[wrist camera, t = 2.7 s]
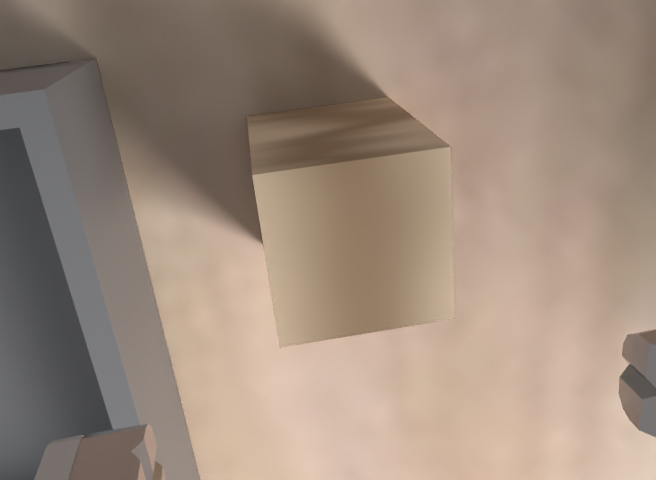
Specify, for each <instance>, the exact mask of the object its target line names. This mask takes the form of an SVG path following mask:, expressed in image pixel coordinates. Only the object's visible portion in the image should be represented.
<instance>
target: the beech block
mask: <svg viewBox="0 0 656 480" xmlns="http://www.w3.org/2000/svg"><path fill="white" fill-rule="evenodd" d="M247 124H248V135H249V146H250V158H251V169H252V178H253V184H254V190H255V197H256V203H257V209H258V215H259V221H260V228H261V234H262V240H263V246H264V252H265V258H266V265H267V271H268V277H269V283H270V289H271V296H272V302H273V308H274V314H275V320H276V327H277V333H278V339H279V345H280V347H286V346H292V345H298V344H304V343H310V342H316V341H322V340H328V339H334V338H341V337H347V336H353V335H359V334H365V333H371V332H377V331H383V330H389V329H395V328H401V327H407V326H413V325H419V324H425V323H431V322H437V321H443V320H449V319H455V285H454V247H453V209H452V171H451V146H449V145H448V144H447V143H445V142H444V141H443V140H442V139H440V138H439V137H438V136H437V135H435V134H434V133H433V132H432V131H430V130H429V129H428V128H427V127H425V126H424V125H423V124H422V123H420V122H419V121H418V120H416V119H415V118H414V117H413V116H411V115H410V114H409V113H408V112H406V111H405V110H404V109H403V108H401V107H400V106H399V105H398V104H396V103H395V102H394V101H392V100H391V99H390V98H389V97H385V98H378V99H370V100H363V101H355V102H348V103H340V104H333V105H326V106H318V107H311V108H303V109H296V110H288V111H281V112H273V113H266V114H259V115H251V116H247Z"/></svg>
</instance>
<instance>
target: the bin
mask: <svg viewBox="0 0 656 480" xmlns="http://www.w3.org/2000/svg"><path fill="white" fill-rule="evenodd" d="M144 424H149V425H150V426H151V427H152V429H153V433H154V436H155V439H156V443H157V448H156V457H155V461H156V462H158V463H159V464H160V465H162V466H163V469H164V473H165V477H166V480H200V477H199V473H198V469H197V465H196V461H195V457H194V453H193V449H192V445H191V441H190V437H189V433H188V429H187V425H186V421H185V417H184V412H183V408H182V404H181V400H180V396H179V392H178V388H177V384H176V380H175V376H174V372H173V368H172V364H171V360H170V356H169V352H168V348H167V344H166V340H165V336H164V332H163V328H162V324H161V320H160V316H159V312H158V308H157V304H156V299H155V295H154V291H153V287H152V283H151V279H150V275H149V271H148V267H147V263H146V259H145V255H144V251H143V247H142V243H141V239H140V235H139V231H138V227H137V223H136V219H135V215H134V211H133V207H132V203H131V199H130V195H129V191H128V186H127V182H126V178H125V174H124V170H123V166H122V162H121V158H120V154H119V150H118V146H117V142H116V138H115V134H114V130H113V126H112V122H111V118H110V114H109V110H108V106H107V102H106V98H105V94H104V90H103V86H102V82H101V77H100V73H99V69H98V65H97V61H96V58H95V59H87V60H79V61H71V62H63V63H55V64H47V65H38V66H30V67H22V68H14V69H6V70H0V480H34V478H35V476H36V473H37V470H38V468H39V465H40V462H41V459H42V457H43V454H44V451H45V449H46V446H47V445H48V444H49V443H50V442H51V441H52V440H56V439H62V438H67V437H73V436H78V435H85V434H89V433H95V432H102V431H108V430H114V429H120V428H126V427H132V426H138V425H144Z"/></svg>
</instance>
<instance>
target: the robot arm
mask: <svg viewBox="0 0 656 480" xmlns="http://www.w3.org/2000/svg"><path fill="white" fill-rule="evenodd" d="M622 356H623V357H624V359H625V360H626V361H627V362H628V364H629V365H628V367H627V368H626V369H625V371H624V372H623V373H622V375H621V376H620V381H619V396H620V399H621V403H622V406H623V409H624V411H625V413H626V414H627V416H628V418H629V420H630V421H631V422H632V423H633V424H634V425H635V426H636V427H637V428H638V430H640V431H643V432H645V433H647V434H650V435H652V436H654V437H656V329H655V330H650V331H644V332H639V333H634V334H629V335H627V337H626V339H625V341H624V343H623V351H622ZM156 448H157V443H156V439H155V436H154V433H153V429H152V427H151V426H150V425H149V424H144V425H138V426H132V427H126V428H120V429H114V430H108V431H102V432H95V433H89V434H85V435H78V436H73V437H67V438H62V439H56V440H52V441H51V442H50V443H49V444H48V445H47V446H46V449H45V451H44V454H43V457H42V459H41V462H40V465H39V468H38V470H37V473H36V476H35V478H34V480H166V477H165V473H164V469H163V466H162V465H160V464H159V463H158V462H156V461H155V457H156Z"/></svg>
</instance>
